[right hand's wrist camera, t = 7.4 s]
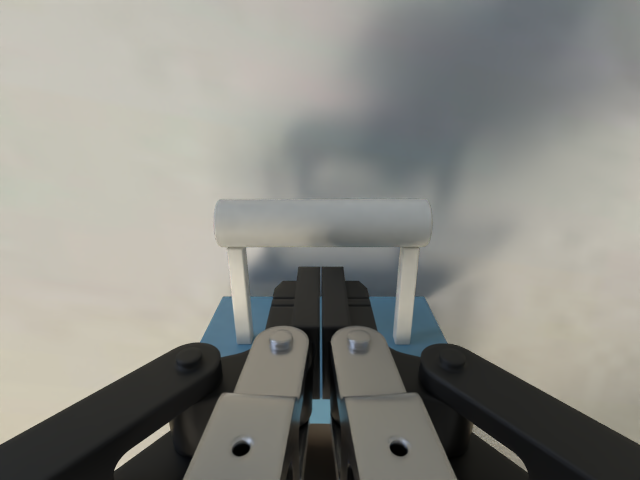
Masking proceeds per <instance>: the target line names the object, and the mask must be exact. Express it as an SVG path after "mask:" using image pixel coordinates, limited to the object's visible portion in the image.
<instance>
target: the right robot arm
mask: <svg viewBox="0 0 640 480" xmlns="http://www.w3.org/2000/svg"><path fill="white" fill-rule="evenodd" d="M313 399H320V267H299V269H298V276H297V281H282V282H281V283H280V284H279V285H278V286H277V287H276V288H275V290H274V294H273V299H272V303H271V307H270V311H269V315H268V319H267V324H266V328H265V330H264V331H262V332H261V333H259V334H258V335H257V336H256V338H255V339H254V342H253V344H252V347H251V349H249V350H247V351H244V352H242V353H238V354H234V355H229V356H225V357H221V354H220V351H219V350H218V348H216V347H215V346H213V345H211V344H208V343H190V344H185V345H182V346H179V347H177V348H175V349H173V350H171V351H169V352H168V353H166V354H164V355H162V356H160V357H159V358H157V359H155V360H153V361H151V362H149V363H148V364H146V365H144V366H142V367H140V368H139V369H137V370H135V371H133V372H131V373H130V374H128V375H126V376H124V377H122V378H120V379H119V380H117V381H115V382H113V383H111V384H110V385H108V386H106V387H104V388H102V389H101V390H99V391H97V392H95V393H93V394H92V395H90V396H88V397H86V398H84V399H82V400H81V401H79V402H77V403H75V404H73V405H72V406H70V407H68V408H66V409H64V410H63V411H61V412H59V413H57V414H55V415H53V416H52V417H50V418H48V419H46V420H44V421H43V422H41V423H39V424H37V425H35V426H34V427H32V428H30V429H28V430H26V431H24V432H23V433H21V434H19V435H17V436H15V437H14V438H12V439H10V440H8V441H6V442H5V443H3V444H1V445H0V480H303V479H304V471H305V462H306V454H307V446H308V437H309V429H310V416H311V413H312V400H313ZM322 399H330V429H331V437H332V446H333V454H334V462H335V471H336V479H337V480H640V445H639V444H637V443H635V442H634V441H632V440H630V439H628V438H626V437H625V436H623V435H621V434H619V433H617V432H616V431H614V430H612V429H610V428H608V427H606V426H605V425H603V424H601V423H599V422H597V421H596V420H594V419H592V418H590V417H588V416H587V415H585V414H583V413H581V412H579V411H577V410H576V409H574V408H572V407H570V406H568V405H567V404H565V403H563V402H561V401H559V400H558V399H556V398H554V397H552V396H550V395H549V394H547V393H545V392H543V391H541V390H539V389H538V388H536V387H534V386H532V385H530V384H529V383H527V382H525V381H523V380H521V379H520V378H518V377H516V376H514V375H512V374H510V373H509V372H507V371H505V370H503V369H501V368H500V367H498V366H496V365H494V364H492V363H491V362H489V361H487V360H485V359H483V358H481V357H480V356H478V355H476V354H474V353H472V352H471V351H469V350H467V349H465V348H463V347H460V346H457V345H453V344H446V343H438V344H433V345H430V346H428V347H426V348H425V349H424V350H423V351H422V353H421V357H419V356H414V355H409V354H405V353H401V352H399V351H396V350H394V349H392V348H390V347H389V346H388V344H387V342H386V339H385V338H384V336H383V335H382V334H381V333H379V332H378V330H377V326H376V322H375V318H374V314H373V310H372V307H371V302H370V299H369V294H368V290H367V288H366V287H365V286H364V285H363V284H362V283H361V282H359V281H345V277H344V269H343V267H322ZM168 422H169V425H170V431H169V432H168V433H166V434H165V435H164V436H162V437H161V438H159V439H158V440H157V441H155V442H154V443H153V444H151V445H150V446H148V447H147V448H146V449H144V450H143V451H142V452H140V453H139V454H137V455H136V456H135V457H133V458H132V459H131V460H129V461H128V462H126V463H125V464H124V465H122V466H121V467H120V468H118V469H117V470H115V471H114V469H115V467H116V465H117V463H118V461H119V460H120V458H121V457H122V456H123V455H124V454H125V453H126V452H127V451H129V450H130V449H131V448H133V447H134V446H136V445H137V444H138V443H140V442H141V441H143V440H144V439H146V438H147V437H148V436H150V435H151V434H153V433H154V432H155V431H157V430H158V429H160V428H161V427H163V426H164V425H165V424H167V423H168ZM473 424H475V425H476V426H477V427H479V428H480V429H482V430H483V431H485V432H486V433H487V434H489V435H490V436H492V437H493V438H494V439H496V440H497V441H499V442H500V443H502V444H503V445H504V446H506V447H507V448H509V449H510V450H511V451H513V452H514V453H515V454H516V455H518V456H519V458H520V459H521V460H522V461H523V463H524V464H525V466H526V468H527V470H528V473H527V472H526V471H525V470H523V469H522V468H520V467H519V466H518V465H516V464H515V463H514V462H512V461H511V460H509V459H508V458H507V457H505V456H504V455H503V454H501V453H500V452H498V451H497V450H496V449H494V448H493V447H492V446H490V445H489V444H487V443H486V442H485V441H483V440H482V439H481V438H479V437H478V436H476V435H475V434H474V433H472V428H473Z"/></svg>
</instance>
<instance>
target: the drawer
mask: <svg viewBox="0 0 640 480" xmlns="http://www.w3.org/2000/svg"><path fill="white" fill-rule="evenodd" d="M214 234H215V238H216V242H217V244H218V245H219V246H220V247H228V248H227V257H228V266H229V275H230V285H231V294H232V297H223V298H222V300H221V302H220V304H219V306H218V308H217V310H216V312H215V314H214V316H213V318H212V320H211V322H210V324H209V326H208V328H207V330H206V332H205V334H204V336H203V338H202V340H201V342H200V343H208V344H211V345H213V346H215V347H216V348H218V350H219V351H220V354H221V357H225V356H229V355H234V354H238V353H242V352H244V351H247V350H249V349H251V347H252V344H253V342H254V339H255V338H256V336H257V335H258V334H259V333H261V332H262V331H264V330H265V328H266V324H267V319H268V315H269V311H270V307H271V303H272V299H273V297H250V289H249V277H248V266H247V254H246V247H400V254H399V267H398V279H397V291H396V297H369V299H370V302H371V307H372V310H373V314H374V318H375V322H376V326H377V330H378V332H379V333H381V334H382V335H383V336H384V338H385V339H386V342H387V344H388V346H389V347H390V348H392V349H394V350H396V351H399V352H401V353H405V354H409V355H414V356H419V357H421V353H422V351H423V350H424V349H425V348H426V347H428V346H430V345H433V344H438V343H446V344H447V342H446V340H445V338H444V336H443V333H442V331H441V329H440V327H439V325H438V323H437V321H436V319H435V317H434V315H433V313H432V311H431V309H430V307H429V305H428V303H427V301H426V299H425V297H415V289H416V279H417V269H418V259H419V250H420V249H419V247H425V246H427V245H428V244H429V241H430V238H431V234H432V210H431V206H430V203H429V201H428V200H427V199H221V200H219V201H218V202H217V204H216V206H215V211H214ZM303 480H337V479H336V471H335V462H334V454H333V446H332V437H331V429H330V399H322V297H320V399H313V400H312V413H311V416H310V429H309V437H308V446H307V454H306V462H305V471H304V479H303Z"/></svg>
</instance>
